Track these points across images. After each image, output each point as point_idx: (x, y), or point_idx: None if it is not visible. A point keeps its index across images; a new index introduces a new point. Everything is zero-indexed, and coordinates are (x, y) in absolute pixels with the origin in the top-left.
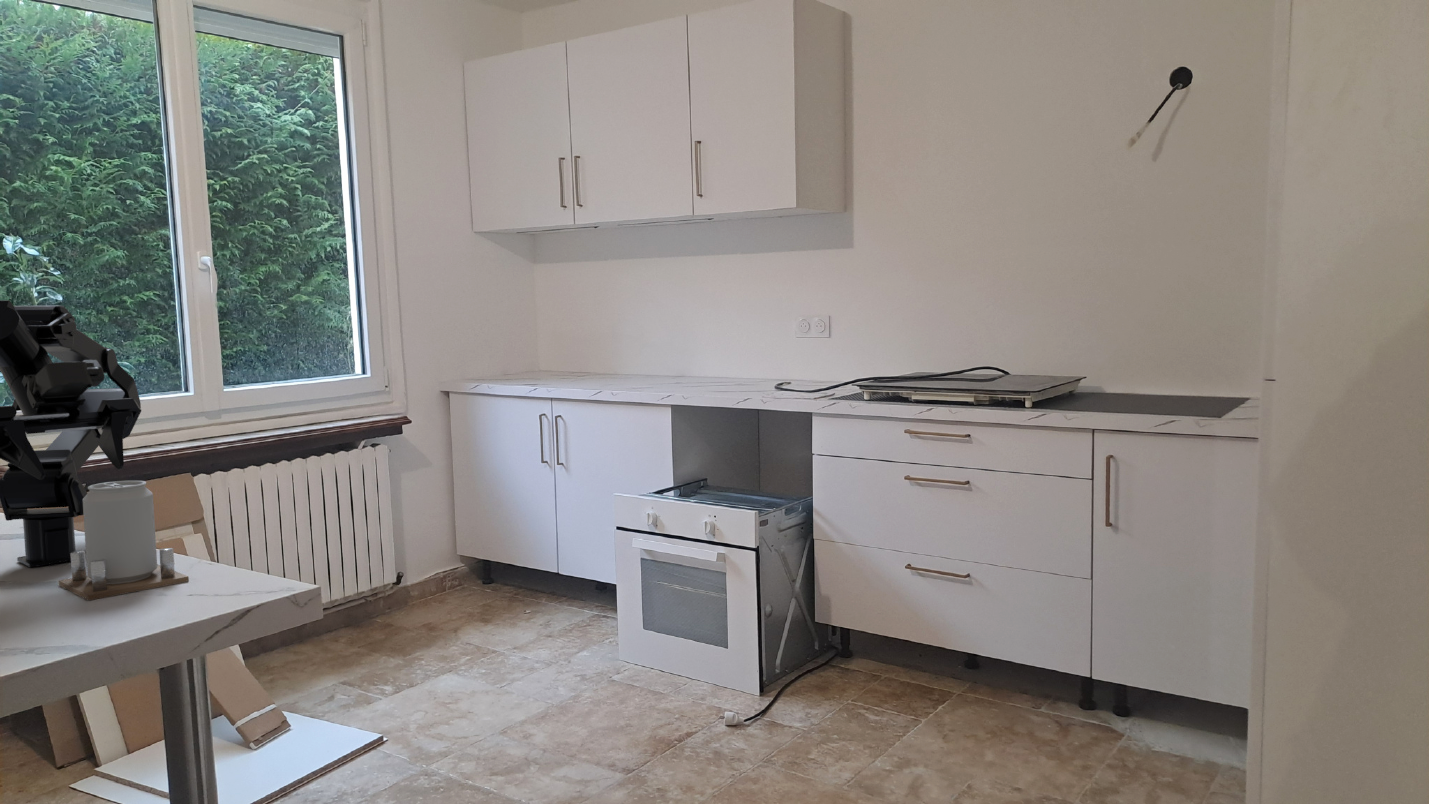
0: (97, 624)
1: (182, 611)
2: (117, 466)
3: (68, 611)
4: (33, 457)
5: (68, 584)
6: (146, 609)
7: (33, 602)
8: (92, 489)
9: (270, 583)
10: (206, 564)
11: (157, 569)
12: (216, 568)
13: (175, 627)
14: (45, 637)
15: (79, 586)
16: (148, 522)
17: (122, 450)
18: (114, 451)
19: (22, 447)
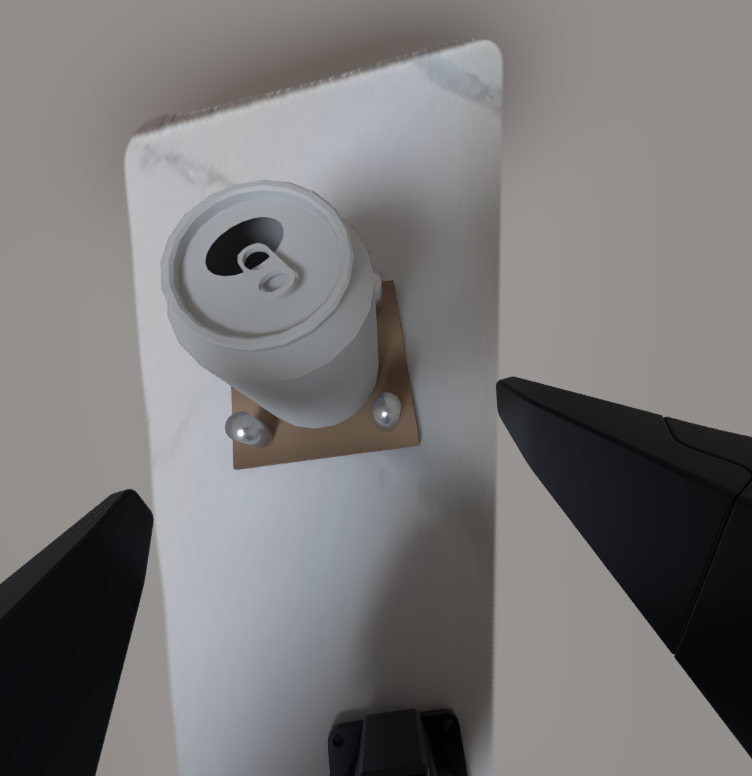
0: (403, 149)
1: (301, 140)
2: (144, 522)
3: (427, 240)
4: (587, 410)
5: (408, 392)
6: (335, 179)
7: (467, 337)
8: (346, 227)
9: (149, 204)
10: (154, 428)
11: (249, 402)
12: (157, 375)
13: (330, 81)
14: (465, 133)
15: (394, 358)
16: (239, 271)
17: (24, 567)
18: (73, 581)
19: (709, 431)
